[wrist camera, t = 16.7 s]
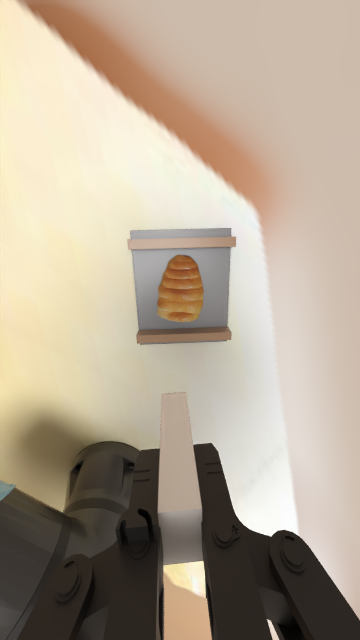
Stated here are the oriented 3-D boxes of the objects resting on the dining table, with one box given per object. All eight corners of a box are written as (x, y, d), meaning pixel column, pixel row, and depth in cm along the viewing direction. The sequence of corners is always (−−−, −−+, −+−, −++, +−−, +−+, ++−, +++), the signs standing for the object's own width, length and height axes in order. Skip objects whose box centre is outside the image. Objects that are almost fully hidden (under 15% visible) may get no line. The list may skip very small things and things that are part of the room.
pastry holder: (140, 343, 35) (137, 351, 32) (130, 231, 30) (126, 228, 27) (225, 339, 35) (230, 347, 32) (230, 228, 30) (236, 225, 27)
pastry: (159, 253, 30) (158, 253, 26) (206, 256, 30) (211, 256, 27) (157, 316, 33) (155, 324, 29) (200, 318, 33) (203, 326, 30)
